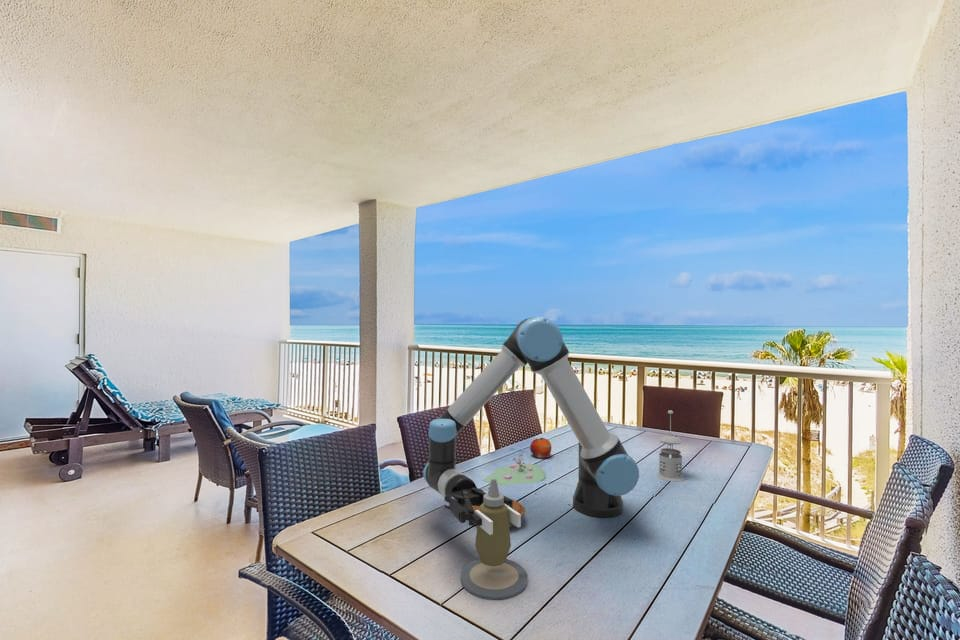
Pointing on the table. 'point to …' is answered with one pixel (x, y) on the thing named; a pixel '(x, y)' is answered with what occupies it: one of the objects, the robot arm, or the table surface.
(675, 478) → the french press
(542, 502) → the table surface
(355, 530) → the table surface
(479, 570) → the coaster
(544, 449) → the tomato
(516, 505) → the pie
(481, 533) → the squeeze bottle
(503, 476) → the plant
